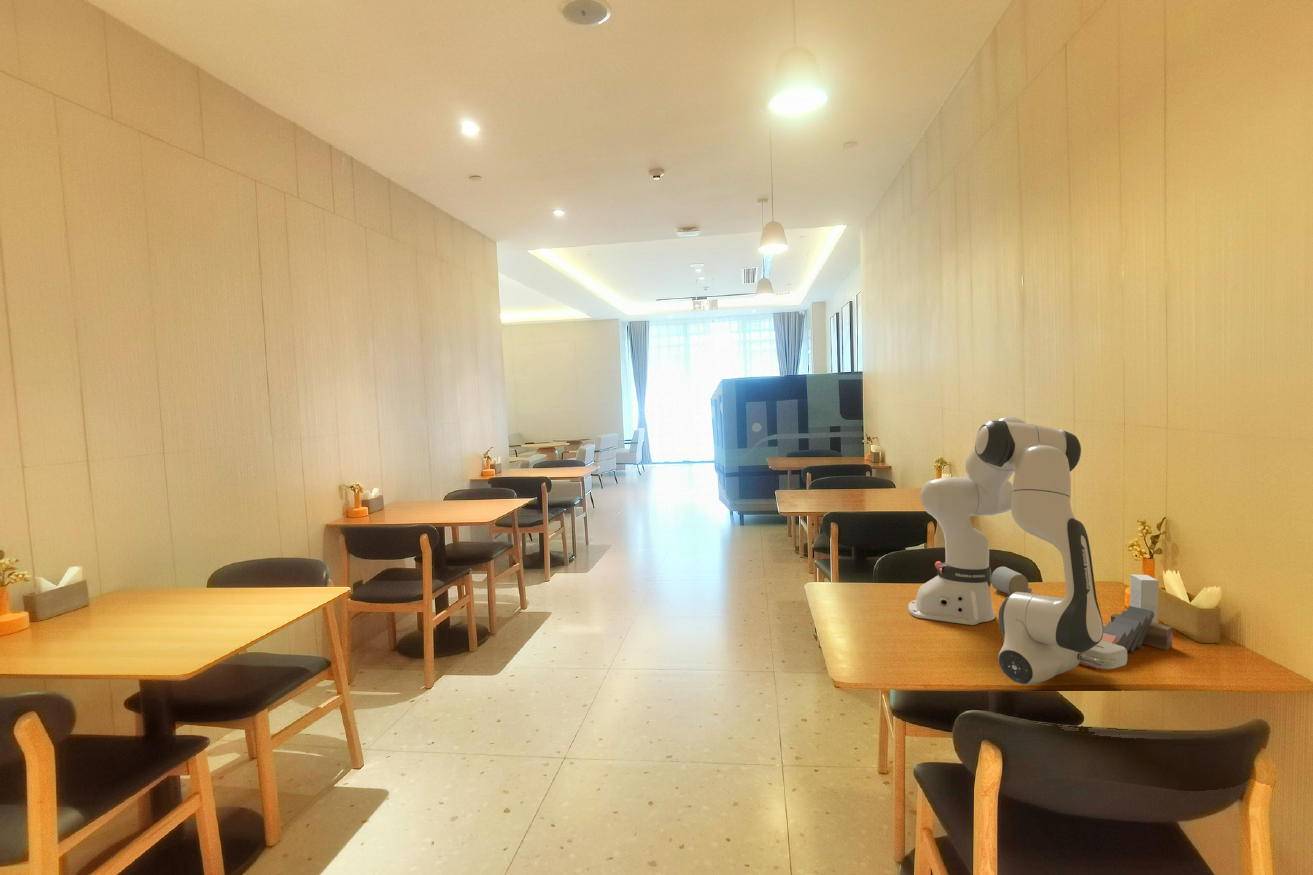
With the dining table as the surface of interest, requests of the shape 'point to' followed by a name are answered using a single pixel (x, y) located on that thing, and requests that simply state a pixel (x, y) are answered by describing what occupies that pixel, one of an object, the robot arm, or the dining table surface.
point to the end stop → (1156, 635)
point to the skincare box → (1145, 593)
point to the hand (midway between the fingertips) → (1088, 636)
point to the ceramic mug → (1009, 581)
